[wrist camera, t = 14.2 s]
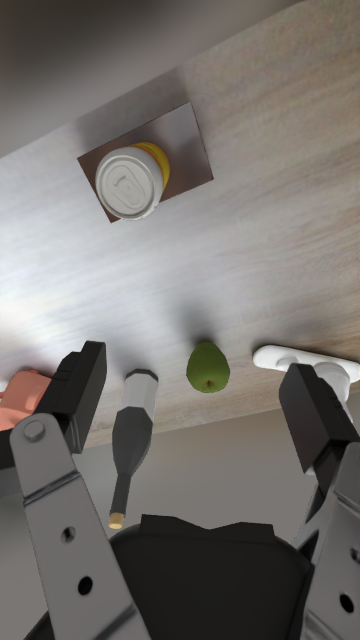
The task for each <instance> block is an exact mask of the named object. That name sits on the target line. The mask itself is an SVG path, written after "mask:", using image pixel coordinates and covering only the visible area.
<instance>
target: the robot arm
mask: <svg viewBox="0 0 360 640" xmlns="http://www.w3.org/2000/svg"><path fill="white" fill-rule="evenodd" d="M106 374H107V360H106V344H105V342H96V341H86V342H85V344H84V346H83V348H82V350H81V352H71V353H70V354H69V355H67V356H66V357H65V358H64V359H62V361H61V363H60V365H59V367H58V368H57V372H55V374H54V376H53V378H52V380H51V381H50V383H49V385H48V387H47V388H46V390H45V392H44V394H43V396H42V398H41V399H40V401H39V403H38V405H37V407H36V409H35V410H34V412H33V413H32V415H29V416H27V417H25V418H24V419H22V420H21V421H19V422H18V423H17V424H16V425H15V427H13V428H10V429H7V430H2V431H0V498H2V497H6V496H10V495H14V494H17V493H23V498H24V502H23V505H24V510H25V514H26V519H27V523H28V527H29V532H30V536H31V540H32V544H33V548H34V552H35V556H36V561H37V565H38V569H39V573H40V577H41V582H42V586H43V590H44V594H45V598H46V602H47V607H48V611H47V612H46V613H45V614H44V615H43V617H42V618H41V619H40V620H39V621H38V623H37V624H36V625H35V626H34V627H33V629H32V630H31V631H30V632H29V633H28V635H27V636H26V637H25V638H24V639H23V640H360V437H359V435H358V434H357V431H356V430H355V428H354V426H353V424H352V422H351V420H350V419H349V417H348V415H347V413H346V411H345V410H344V409H343V406H342V404H341V402H340V401H339V400H338V397H337V395H336V393H335V391H334V390H333V388H332V387H331V386H330V385H329V384H328V383H327V382H326V381H325V380H324V379H323V378H320V377H318V376H317V374H316V372H315V370H314V368H313V366H312V365H310V364H302V363H291V364H290V366H289V368H288V370H287V372H286V374H285V377H284V379H283V381H282V383H281V385H280V388H279V400H280V403H281V406H282V409H283V412H284V415H285V418H286V421H287V424H288V427H289V430H290V433H291V436H292V439H293V442H294V445H295V448H296V451H297V454H298V457H299V460H300V463H301V466H302V469H303V472H304V474H305V475H316V477H317V480H318V483H317V484H316V485H315V488H314V490H313V494H312V496H311V499H310V501H309V504H308V507H307V509H306V512H305V515H304V518H303V520H302V523H301V526H300V528H299V530H298V532H297V534H296V536H295V537H294V539H293V541H292V543H291V544H289V543H288V542H286V541H284V540H283V539H281V538H279V537H277V536H275V535H274V530H273V525H271V524H260V523H247V522H239V523H235V524H231V525H227V526H223V527H219V528H215V529H210V530H209V529H204V528H202V527H199V526H196V525H194V524H192V523H189V522H186V521H184V520H181V519H179V518H176V517H171V516H158V515H146V514H142V518H141V523H140V524H137V525H133V526H130V527H128V528H125V529H123V530H122V531H120V532H118V533H117V534H115V535H114V536H112V537H111V538H110V539H109V540H108V538H107V535H106V533H105V530H104V528H103V526H102V523H101V521H100V518H99V516H98V513H97V511H96V509H95V506H94V504H93V501H92V499H91V496H90V494H89V492H88V489H87V487H86V484H85V482H84V480H83V477H82V475H81V474H80V472H78V470H77V468H76V466H75V463H74V461H73V458H72V453H76V454H81V453H82V450H83V447H84V444H85V441H86V438H87V435H88V432H89V429H90V426H91V423H92V420H93V417H94V414H95V411H96V408H97V405H98V402H99V399H100V396H101V393H102V390H103V387H104V384H105V380H106Z"/></svg>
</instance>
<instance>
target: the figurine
mask: <svg viewBox="0 0 360 640" xmlns="http://www.w3.org/2000/svg"><path fill="white" fill-rule="evenodd" d="M253 362H254V364H255V365H256V366H258V367H262V368H269V369H275V370H281V371H286V372H287V370H288V368H289V366H290V364H291V363H302V364H310V365H312V366H313V368H314V370H315V372H316V374H317V376H318V377H320V378H323V379H324V380H325V381H326V382H327V383H328V384H329V385H330V386H331V387H332V388H333V390H334V391H335V393H336V395H337V397H338V400H339V401H340V402H341V404H342V406H343V409H344V410H345V411H346V413H347V415H348V417H349V419H350V420H351V422H352V424H353V419H352V417H351V414H350V413H349V411H348V409H347V406H346V404H345V401H346V400H347V398H348V395H349V387H350V383H353V382H356V381H357V380H359V379H360V364H358V363H356V362H353V361H349V360H344V359H340V358H335V357H330V356H325V355H320V354H315V353H310V352H305V351H301V350H296V349H292V348H287V347H280V346H273V345H267V346H264V347H261V348H260V349H258V350H257V351H256V352H255V354H254V356H253Z"/></svg>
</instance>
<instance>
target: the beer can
mask: <svg viewBox="0 0 360 640" xmlns="http://www.w3.org/2000/svg"><path fill="white" fill-rule="evenodd" d="M169 174H170V166H169V162H168V159H167V156H166V155H165V153H164V152H163V151H162V149H161V148H159V147H158V146H157V145H155V144H153V143H150V142H140V143H137V144H133V145H130V146H126V147H123V148H119V149H116V150H113V151H111V152H110V153H108V154H107V155H106V156H105V157H104V158H103V159H102V160H101V162H100V163H99V166H98V168H97V171H96V178H95V183H96V190H97V193H98V196H99V198H100V200H101V202H102V204H103V205H104V206H105V208H106V209H107V210H108V211H109V212H111V213H112V214H113V215H115V216H117V217H119V218H121V219H124V220H131V221H133V220H140V219H143V218H145V217H147V216H148V215H150V214H151V213H152V212H153V211H154V209H155V208H156V207H157V205H158V203H159V200H160V198H161V196H162V193H163V191H164V188H165V186H166V184H167V181H168V178H169Z"/></svg>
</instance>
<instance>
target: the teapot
mask: <svg viewBox="0 0 360 640" xmlns="http://www.w3.org/2000/svg"><path fill="white" fill-rule="evenodd" d="M51 380H52V379H51V378H48V377H45V376H42V375H39V372H38V371H36V370H33V369H31V370H29V371H28V372H26V371H20V372H18V373H17V374H16V375H14V376H13V378H12V379H11V381H10V382H9V384H8V386H7V387H6V390H5V391H4V392H0V399H1V398H2V399H1V402H0V431H2V430H7V429H10V428H13V427H15V425H16V424H17V423H18V422H19V421H21V420H22V419H24V418H25V417H27V416H29V415H32V413H33V412H34V410H35V409H36V407H37V405H38V403H39V401H40V399H41V398H42V396H43V394H44V392H45V390H46V388H47V387H48V385H49V383H50V381H51Z"/></svg>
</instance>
